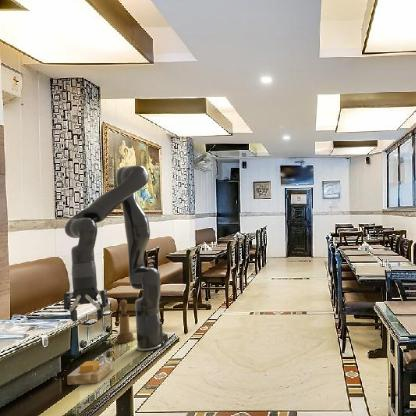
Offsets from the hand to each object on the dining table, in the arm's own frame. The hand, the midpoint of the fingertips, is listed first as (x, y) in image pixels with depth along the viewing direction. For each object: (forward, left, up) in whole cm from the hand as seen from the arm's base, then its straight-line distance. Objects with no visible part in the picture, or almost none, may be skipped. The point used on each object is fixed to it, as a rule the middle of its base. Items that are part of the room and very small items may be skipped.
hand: (87, 320), depth 150 cm
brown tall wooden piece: (-25, -28, -20) cm, 42 cm away
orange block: (+1, +2, -20) cm, 20 cm away
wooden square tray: (+1, +2, -20) cm, 20 cm away
